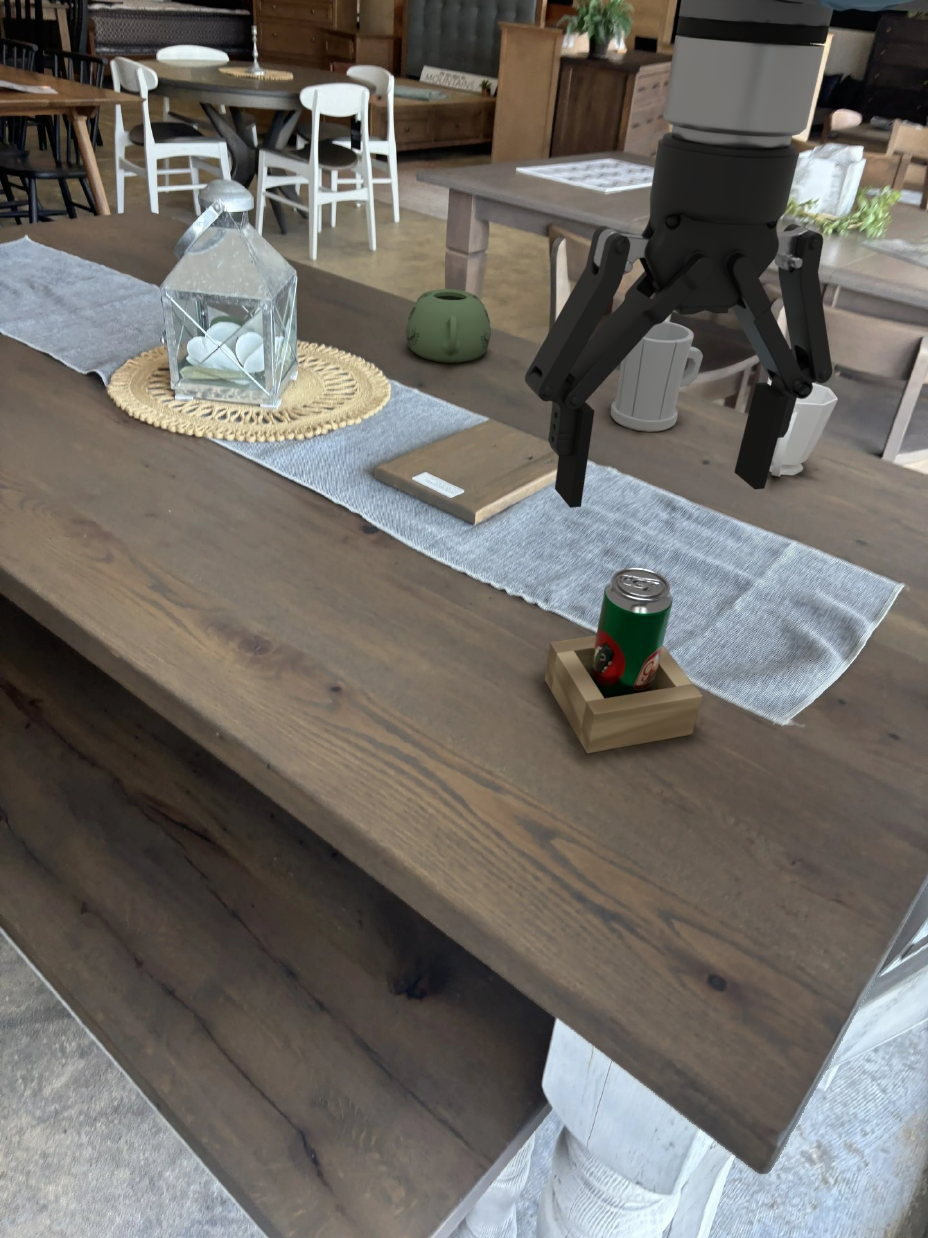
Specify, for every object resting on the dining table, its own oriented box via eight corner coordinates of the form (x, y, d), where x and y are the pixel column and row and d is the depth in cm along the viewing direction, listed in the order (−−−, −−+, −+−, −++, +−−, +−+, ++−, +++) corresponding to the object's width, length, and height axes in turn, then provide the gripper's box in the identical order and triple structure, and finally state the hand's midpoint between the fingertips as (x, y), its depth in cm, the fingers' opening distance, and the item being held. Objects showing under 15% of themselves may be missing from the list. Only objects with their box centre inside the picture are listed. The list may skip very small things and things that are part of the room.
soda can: (639, 735, 71) (668, 609, 64) (577, 717, 72) (598, 591, 65) (653, 697, 75) (681, 574, 68) (593, 680, 76) (615, 558, 69)
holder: (692, 734, 71) (702, 695, 69) (586, 753, 69) (594, 714, 66) (641, 664, 78) (649, 627, 76) (544, 680, 76) (549, 641, 73)
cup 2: (819, 460, 114) (842, 386, 108) (806, 500, 105) (830, 421, 99) (752, 445, 117) (770, 372, 111) (733, 482, 108) (753, 405, 102)
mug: (404, 336, 143) (405, 280, 138) (485, 338, 145) (489, 283, 140) (407, 373, 131) (408, 313, 126) (496, 376, 132) (500, 316, 127)
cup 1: (632, 397, 128) (647, 311, 121) (692, 414, 124) (711, 327, 117) (598, 420, 121) (611, 330, 114) (661, 439, 117) (679, 347, 110)
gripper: (878, 129, 55) (788, 451, 67) (489, 120, 49) (468, 479, 61) (967, 148, 49) (851, 497, 61) (539, 141, 43) (504, 534, 55)
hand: (660, 489), depth 61 cm, fingers open, 13 cm apart
